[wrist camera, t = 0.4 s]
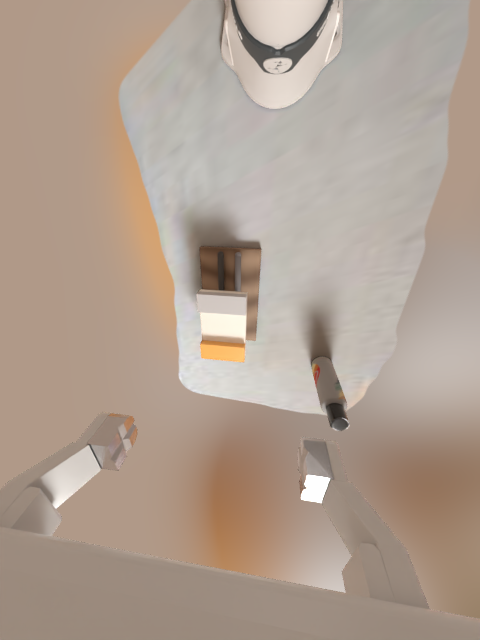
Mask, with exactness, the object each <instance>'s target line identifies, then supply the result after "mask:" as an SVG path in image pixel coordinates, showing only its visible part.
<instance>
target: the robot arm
mask: <svg viewBox="0 0 480 640" xmlns="http://www.w3.org/2000/svg"><path fill="white" fill-rule="evenodd" d="M225 5H226V9H225V18H224V27H223V35H222V44H221V53H222V58H223V60H224V61H225V63H226V64H227V65H228V66H229V67H230V68H231V69H232V70H234V71H235V72H236V74H237V76H238V78H239V80H240V82H241V84H242V86H243V88H244V90H245V91H246V93H247V94H248V95H249V97H250V98H251V99H252V100H253V101H255V102H256V103H257V104H259V105H261V106H263V107H266V108H271V109H279V108H284V107H287V106H289V105H291V104H293V103H295V102H296V101H298V100H299V99H300V98H301V97H302V96H303V95H304V94H305V93H306V92H307V91H308V90H309V89H310V87H311V86H312V84H313V83H314V81H315V79H316V78H317V76H318V74H319V73H320V71H321V70H322V69H323V68H324V67H325V66H326V65H328V64H329V63H330V62H331V61H332V60H333V59H334V58H335V57H336V56H337V55H338V53H339V51H340V49H341V45H342V21H343V0H225ZM335 34H336V36H335ZM334 36H335V37H334ZM133 422H134V418H133V416H128V415H121V414H114V413H106V412H102V413H100V414H99V415H98V416H97V417H96V418H95V420H94V421H93V422H92V423H91V424H90V426H89V427H88V428H87V429H86V431H85V432H84V433H83V434H82V435H81V437H80V438H79V439H78V440H77V441H76V443H71V444H69V445H68V446H66V447H64V448H63V449H61V450H59V451H58V452H56V453H54V454H53V455H51V456H50V457H48V458H46V459H45V460H43V461H41V462H40V463H38V464H36V465H35V466H33V467H31V468H30V469H28V470H26V471H25V472H23V473H22V474H20V475H18V476H17V477H15V478H13V479H12V480H10V481H8V482H7V484H6V485H5V486H4V487H3V488H2V489H1V490H0V640H480V619H478V618H472V617H467V616H462V615H457V614H452V613H446V612H441V611H436V610H431V609H429V606H428V603H427V601H426V598H425V595H424V593H423V591H422V588H421V585H420V583H419V580H418V578H417V575H416V572H415V570H414V567H413V564H412V562H411V559H410V557H409V554H408V552H407V549H406V548H405V547H404V545H403V544H402V543H401V542H400V541H399V539H398V538H397V537H396V536H395V534H394V533H393V532H392V531H391V529H390V528H389V527H388V526H387V525H386V523H385V522H384V521H383V520H382V519H381V517H380V516H379V515H378V514H377V512H376V511H375V510H374V509H373V508H372V506H371V505H370V504H369V503H368V501H367V500H366V499H365V498H364V496H363V495H362V494H361V493H360V492H359V490H358V489H357V488H356V487H355V486H354V484H353V483H352V482H348V479H347V475H346V472H345V468H344V465H343V461H342V457H341V453H340V450H339V446H338V443H337V442H336V441H331V440H324V439H316V438H307V437H301V440H300V446H301V447H299V448H298V457H297V460H298V471H299V472H300V474H301V476H300V480H299V484H300V493H301V499H305V500H310V501H316V502H321V503H322V506H323V507H324V509H325V511H326V513H327V514H328V516H329V518H330V520H331V521H332V523H333V525H334V526H335V528H336V530H337V532H338V533H339V535H340V537H341V538H342V540H343V542H344V543H345V545H346V547H347V549H348V550H349V552H350V554H351V556H352V557H351V559H350V560H349V561H348V563H347V564H346V566H345V568H344V569H343V571H342V575H343V580H344V586H345V590H346V593H343V592H337V591H333V590H327V589H322V588H317V587H312V586H307V585H301V584H296V583H291V582H286V581H281V580H276V579H270V578H265V577H260V576H255V575H249V574H245V573H239V572H234V571H229V570H224V569H219V568H213V567H208V566H203V565H198V564H193V563H188V562H182V561H177V560H172V559H167V558H162V557H156V556H151V555H146V554H140V553H135V552H131V551H125V550H120V549H115V548H110V547H105V546H100V545H94V544H89V543H84V542H79V541H74V540H69V539H63V538H58V537H53V536H52V534H53V533H54V531H55V530H56V528H57V527H58V525H59V524H60V522H61V520H62V516H61V515H60V514H59V512H58V511H57V510H56V508H57V507H58V506H60V505H61V504H62V503H63V502H64V501H65V500H67V499H68V498H69V497H70V496H71V495H72V494H74V493H75V492H76V491H77V490H78V489H79V488H81V487H82V486H83V485H84V484H85V483H86V482H88V481H89V480H90V479H91V478H92V477H93V476H95V475H96V474H97V473H98V472H99V471H100V470H101V469H108V470H116V471H118V470H119V469H120V467H121V465H122V464H123V462H124V460H125V458H126V456H127V453H126V451H127V450H128V449H130V448H131V447H132V446H133V444H134V443H135V440H136V437H137V427H136V426H135V425H134V424H133Z"/></svg>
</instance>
